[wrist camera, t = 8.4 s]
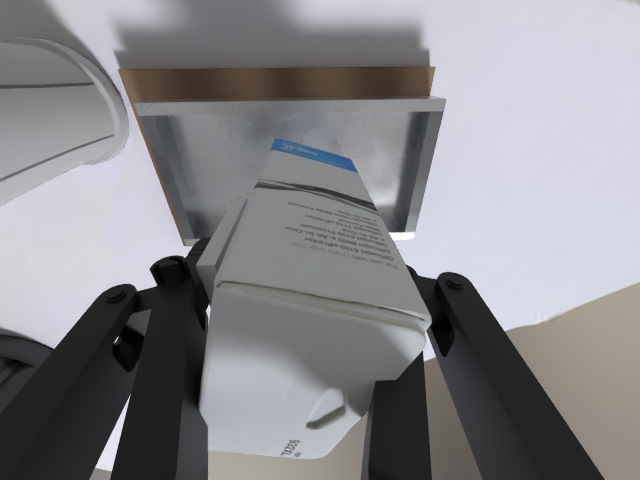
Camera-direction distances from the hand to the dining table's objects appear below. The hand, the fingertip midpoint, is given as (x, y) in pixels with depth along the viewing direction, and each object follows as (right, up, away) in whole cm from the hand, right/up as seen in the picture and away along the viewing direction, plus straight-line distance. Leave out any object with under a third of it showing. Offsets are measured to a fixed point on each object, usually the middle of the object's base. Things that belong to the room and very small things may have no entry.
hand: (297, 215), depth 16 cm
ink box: (0, 0, +1) cm, 1 cm away
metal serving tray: (-1, +5, +8) cm, 10 cm away
